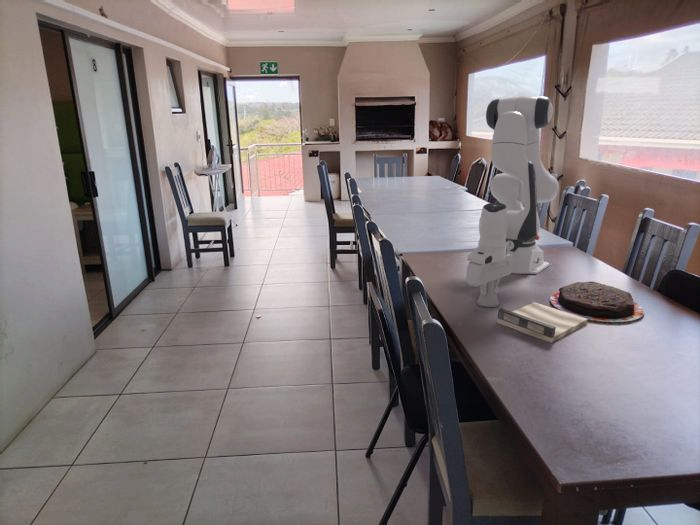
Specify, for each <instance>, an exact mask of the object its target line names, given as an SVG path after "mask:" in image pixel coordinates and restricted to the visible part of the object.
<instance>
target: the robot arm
mask: <svg viewBox="0 0 700 525" xmlns="http://www.w3.org/2000/svg"><path fill="white" fill-rule="evenodd" d="M553 107H554V106H553V104H552V100H551V99H550V98H549V97H547V96H543V95H539V96H532V95H531V96H530V95H527V96H526V95H523V96H521V95H520V96H512V97H508V98H507V97H506V98H496V99H493V100H491V101H490V102H489V104H488V105H487V107H486V113H485V120H486V124H487V126H488V127H489V128H490V129H492V130H493V135H492V139H491V147H490V161H491V163H492V165H493V167H495V169H497V170H499V171H500V172H502V173H497V174H496V175H494V177H493V178H491V181H490V185H489V189H490V193H491V196H492V197H493V198H495V199H496V200H497V201H498V202H496V201H495V202H490V203H486V204H485V205H483V206H482V209H481V213H480V217H479V220H478V221H479V222H478V223H479V224H478V232H479V240H478V241H477V242H478V244H477V247H476V248H475V249H474V250H473V251H472V252H470V253H469V254H468V255H467V257H466V259H467V261H468V263H467V266H466V278H465V280H466V283H467V285H468V286H471V287H479V288H480V295H481V294H483V295H486V294H487V293H488V289H486V285H487V283H488V282H491V281H493V280H494V288H495V292H496V291H497V290H498V285H499V284H500V281H501V278H504V277H507V276H509V275H511V274H528V275H529V274H531V275H537V274H539V273H540V272H542V271H544V270H545V269H547V268H548V267H549V266H550V263H549V262H548V261H546V260H544V258H545V253H544V251H543V250H542V249H541V248H540V247H539V246H538V245H537V244H536V243H537V242H536V241H539V240H540V239H541V238H540V235H539V233H540V228H541V224H540V223H541V221H540V217H539V212H538V203H539V204H542V203H549V202H552V201H553V200H555V198H556V197H557V196H558V194H559V191H560V185H559V184H560V183H559V181H558V180H557V178H556V177H555V176H553V175H552V174H551V173H550V172H549V171H548V169H547V168H545V166H544V164H543V162H542V160H541V151H540V150H541V148H540V147H541V142H540V140H541V137H540V136H541V134H540V133H541V132H540V130H541V129H543V128H546V127H547V126H548V125H550V122H551V120H552V117H553V116H554V115H553V114H554V108H553ZM522 202H523V204H522Z"/></svg>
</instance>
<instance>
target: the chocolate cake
mask: <svg viewBox="0 0 700 525" xmlns="http://www.w3.org/2000/svg"><path fill="white" fill-rule="evenodd" d="M549 301H550V303H551V306H552V308H554V309H557V310H560V311H564V312H567V313H570V314H573V315H576V316H579V317H582V318H585V319H588V320H587V323H588V322H589V323H590V322H594V323H595V322H596V323H598V322H599V323H600V324H607V323H608V324H610V325H622V324H626V323H630V322H634V321H637V320H640V319H641V318H642V317H644V314H645V310H644V308H643V307H642V306H641V305H640V304H639V303H638V302H636V301H635V300H634V299H633V296H632V294H631V293H630V292H629V291H626V290H623V289H620V288H617V287H614V286H611V285H607V284H604V283H600V282H596V281H583V282H582V281H581V282H579V281H577V282H574V283H573V282H572V283H571V284H568V285H565V286H562V287H560V288H559V289H558V291H556V292H554V293H553V294H552V295H551V296H550V298H549Z"/></svg>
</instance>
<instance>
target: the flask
mask: <svg viewBox="0 0 700 525" xmlns="http://www.w3.org/2000/svg"><path fill="white" fill-rule="evenodd" d="M486 289H488V293H487V294H486V295H483V294H481V293H480V295H479V298H478V299H477V301H476V302H477V304H478V305H479V306H480V307H485V308H498V306H499V305H500V302H499V300H498V296H497V293H496V291H495V288H494V280H493V281H491V282H488V283H487V285H486Z"/></svg>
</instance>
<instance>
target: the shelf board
mask: <svg viewBox="0 0 700 525" xmlns="http://www.w3.org/2000/svg"><path fill="white" fill-rule="evenodd" d="M496 318H497V319H496V323H497V324H501V325H503V326H505V327H509V328H511V329H512V330H517V331H519V332H521V333H524V334H526V335H528V336H531V337H534V338H538V339H540V340H542V341H544V342H548V343H550V344H552V343H554V342H556V341H557V340H559V339H561V338H563V337H565V336H568V335H569V334H571V333H572V332H575V331H576V330H578V329H580V328H581V327H584V326H585V325H587V324H588V321H587V320H588V319H585V318H582V317H579V316H576V315H573V314H570V313H567V312H564V311H560V310H558V309H556V308H554V307H550V306H547V305H545V304H541V303H538V302H536V301H533V302H531V303H528V304H527V305H525V306H522V307H519V308H518V309H515V310H513V311H512V310H508V309H506V308H504V307H503V308H502V307H500V308H498V309H497V317H496Z"/></svg>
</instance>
